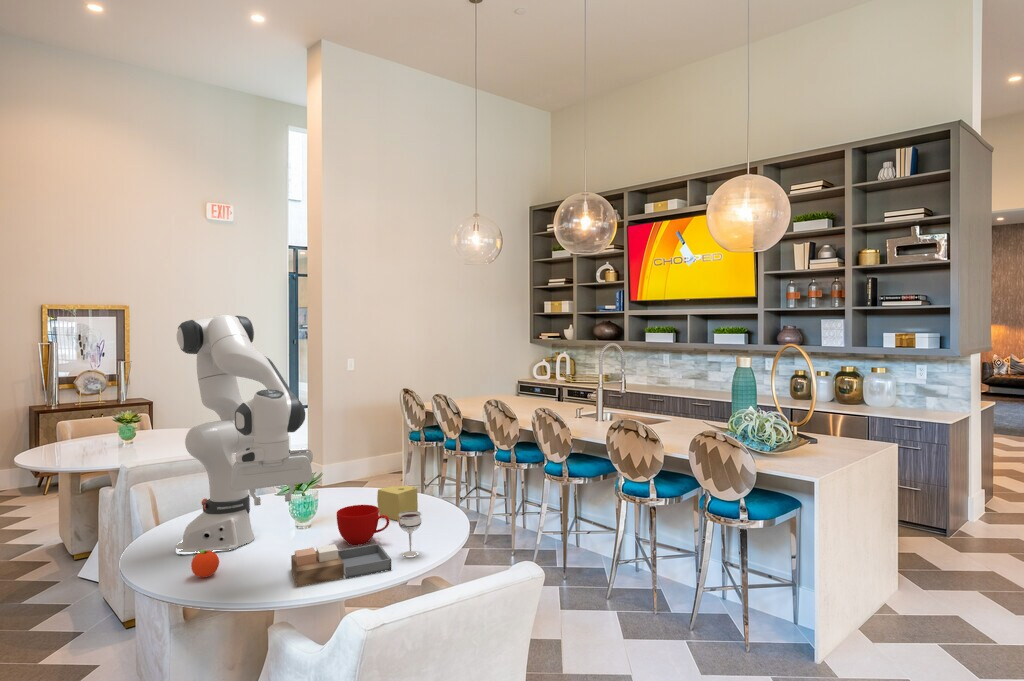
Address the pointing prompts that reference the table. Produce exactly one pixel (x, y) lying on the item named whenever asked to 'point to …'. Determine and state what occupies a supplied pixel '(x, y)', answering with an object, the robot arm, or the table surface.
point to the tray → (364, 560)
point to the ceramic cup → (359, 523)
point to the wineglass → (409, 525)
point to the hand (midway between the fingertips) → (272, 502)
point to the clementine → (205, 563)
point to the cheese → (397, 500)
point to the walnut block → (317, 571)
